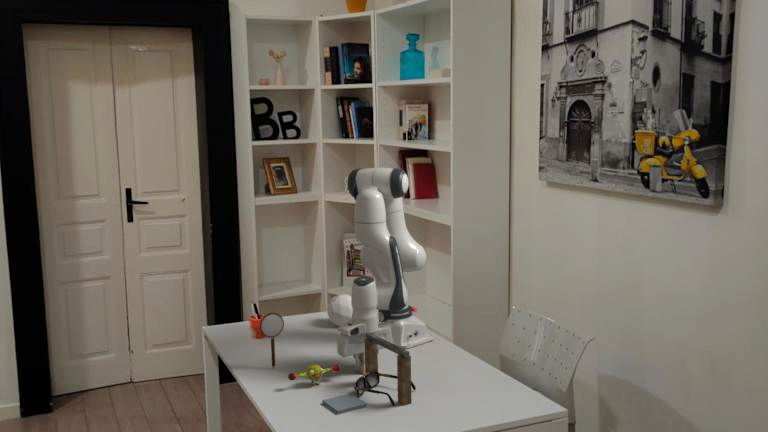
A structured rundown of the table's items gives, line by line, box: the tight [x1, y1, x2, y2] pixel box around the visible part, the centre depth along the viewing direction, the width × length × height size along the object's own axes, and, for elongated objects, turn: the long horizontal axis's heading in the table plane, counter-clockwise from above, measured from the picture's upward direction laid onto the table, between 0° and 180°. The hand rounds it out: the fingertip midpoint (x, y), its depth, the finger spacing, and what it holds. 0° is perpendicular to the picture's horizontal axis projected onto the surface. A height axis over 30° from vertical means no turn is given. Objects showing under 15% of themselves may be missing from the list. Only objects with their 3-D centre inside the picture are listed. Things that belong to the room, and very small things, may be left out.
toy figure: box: [287, 364, 340, 387], centre depth 246 cm, size 18×6×7 cm, turn 117°
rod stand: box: [364, 339, 412, 406], centre depth 238 cm, size 3×22×15 cm, turn 32°
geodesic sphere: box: [327, 292, 353, 327], centre depth 311 cm, size 14×14×14 cm
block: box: [357, 351, 365, 375], centre depth 257 cm, size 4×4×8 cm
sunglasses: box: [353, 370, 417, 407], centre depth 237 cm, size 14×15×5 cm
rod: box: [366, 333, 410, 358], centre depth 236 cm, size 2×23×2 cm, turn 32°
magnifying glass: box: [259, 312, 285, 369], centre depth 261 cm, size 9×2×20 cm, turn 116°
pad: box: [322, 392, 368, 415], centre depth 230 cm, size 10×10×1 cm
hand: (365, 363), depth 257 cm, fingers closed on block, 4 cm apart
